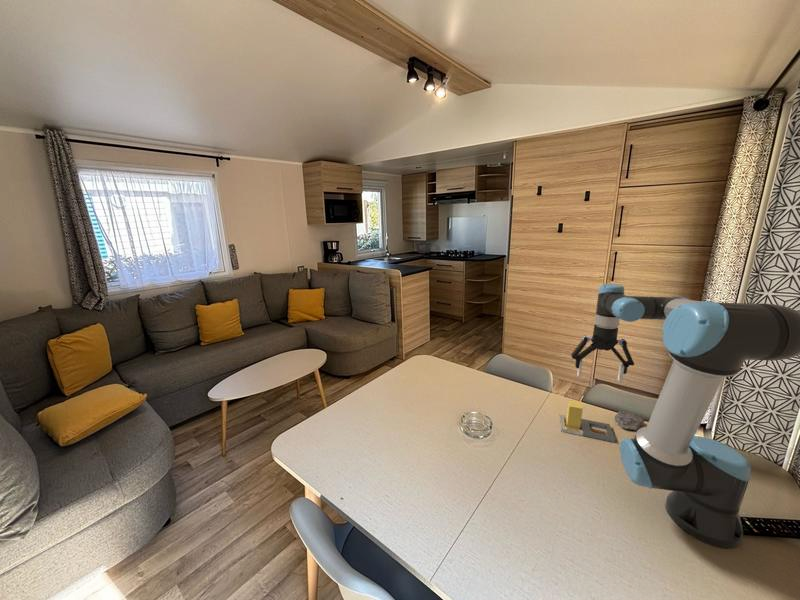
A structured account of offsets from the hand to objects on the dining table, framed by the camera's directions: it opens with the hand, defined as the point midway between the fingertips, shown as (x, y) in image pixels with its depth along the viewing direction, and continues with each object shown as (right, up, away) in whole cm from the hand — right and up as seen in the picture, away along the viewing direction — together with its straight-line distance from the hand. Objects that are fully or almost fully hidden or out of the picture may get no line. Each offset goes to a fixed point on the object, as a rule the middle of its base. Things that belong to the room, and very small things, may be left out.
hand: (598, 378), depth 120 cm
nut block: (-7, -21, +5) cm, 23 cm away
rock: (+16, -21, +6) cm, 27 cm away
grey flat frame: (-3, -21, +4) cm, 22 cm away
